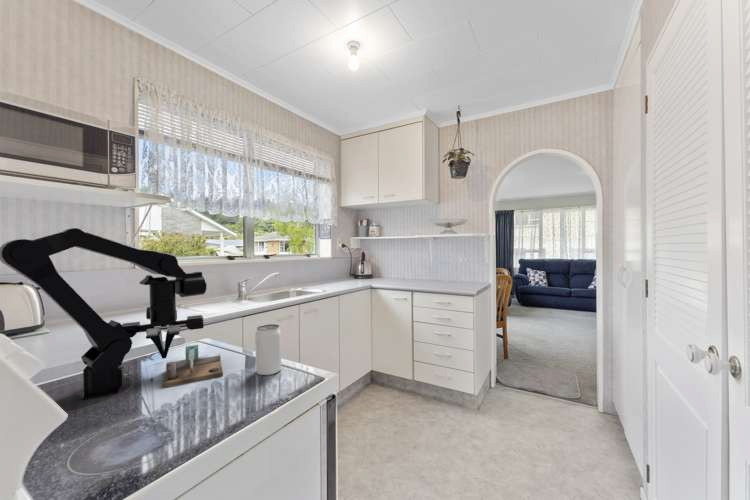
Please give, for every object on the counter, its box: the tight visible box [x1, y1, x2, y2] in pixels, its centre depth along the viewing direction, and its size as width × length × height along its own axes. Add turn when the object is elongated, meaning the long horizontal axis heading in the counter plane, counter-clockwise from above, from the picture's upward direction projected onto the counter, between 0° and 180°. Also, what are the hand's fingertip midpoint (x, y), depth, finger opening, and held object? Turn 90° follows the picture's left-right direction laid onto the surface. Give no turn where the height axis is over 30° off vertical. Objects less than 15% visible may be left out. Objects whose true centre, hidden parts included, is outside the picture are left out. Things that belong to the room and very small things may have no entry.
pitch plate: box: [162, 353, 224, 389], centre depth 83 cm, size 13×12×4 cm
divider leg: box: [185, 344, 199, 373], centre depth 84 cm, size 3×10×4 cm, turn 29°
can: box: [254, 323, 282, 376], centre depth 84 cm, size 6×6×12 cm
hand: (164, 357), depth 84 cm, fingers closed
